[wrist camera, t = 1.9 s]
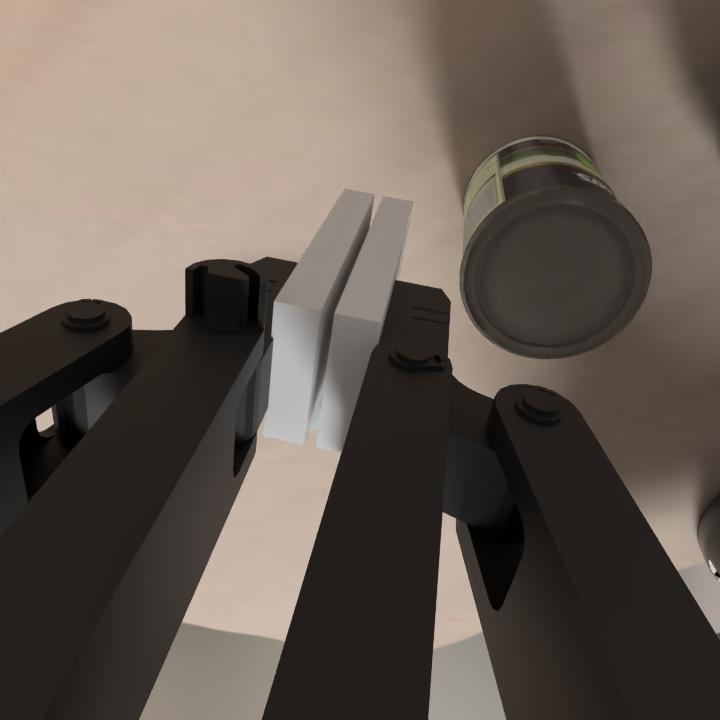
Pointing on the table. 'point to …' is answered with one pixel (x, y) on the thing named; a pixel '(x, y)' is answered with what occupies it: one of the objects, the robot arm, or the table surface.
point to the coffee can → (549, 252)
